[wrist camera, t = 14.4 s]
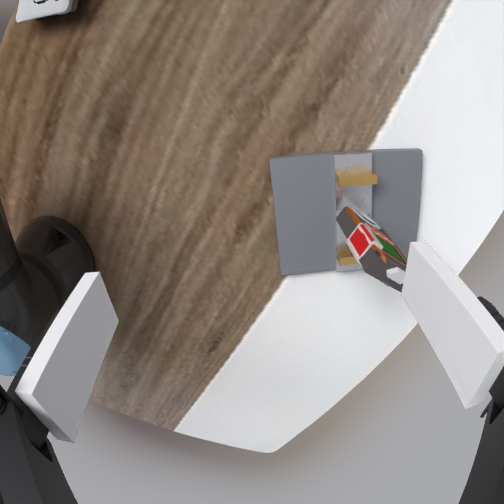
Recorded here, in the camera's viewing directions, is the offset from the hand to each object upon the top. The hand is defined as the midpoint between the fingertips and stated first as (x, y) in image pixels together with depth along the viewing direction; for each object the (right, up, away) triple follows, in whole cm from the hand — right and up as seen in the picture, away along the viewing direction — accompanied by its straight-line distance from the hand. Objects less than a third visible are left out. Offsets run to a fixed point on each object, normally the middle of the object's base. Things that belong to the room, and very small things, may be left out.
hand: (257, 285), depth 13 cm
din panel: (+13, +7, +31) cm, 34 cm away
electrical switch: (-22, +37, +14) cm, 46 cm away
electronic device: (+13, +6, +29) cm, 32 cm away
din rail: (+13, +6, +29) cm, 32 cm away
